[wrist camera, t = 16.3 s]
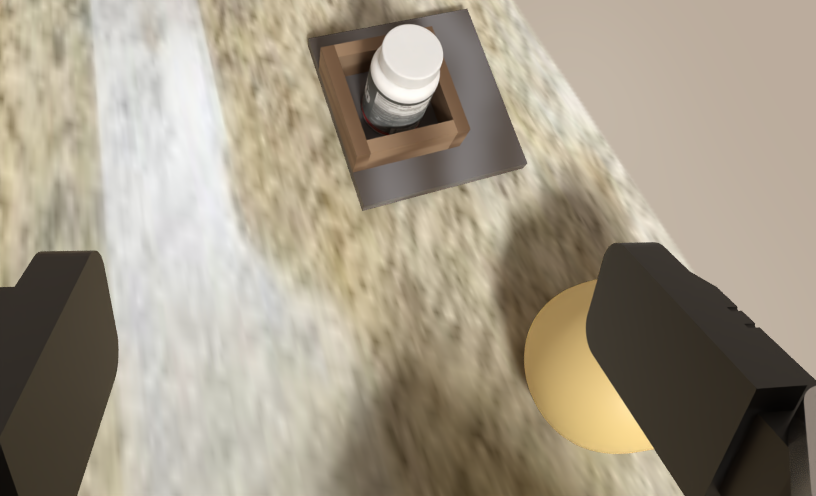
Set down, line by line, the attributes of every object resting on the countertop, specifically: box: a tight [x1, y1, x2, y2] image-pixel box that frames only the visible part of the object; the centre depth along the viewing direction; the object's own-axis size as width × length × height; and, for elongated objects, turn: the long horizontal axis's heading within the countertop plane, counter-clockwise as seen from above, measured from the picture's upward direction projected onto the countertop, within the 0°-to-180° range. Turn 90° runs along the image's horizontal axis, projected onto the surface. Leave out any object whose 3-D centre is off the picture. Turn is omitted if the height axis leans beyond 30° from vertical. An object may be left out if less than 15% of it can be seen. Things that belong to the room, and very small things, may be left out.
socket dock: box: [308, 9, 527, 211], centre depth 47 cm, size 13×14×4 cm
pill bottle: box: [361, 24, 443, 136], centre depth 43 cm, size 5×5×8 cm
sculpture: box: [524, 279, 654, 454], centre depth 41 cm, size 11×12×11 cm
